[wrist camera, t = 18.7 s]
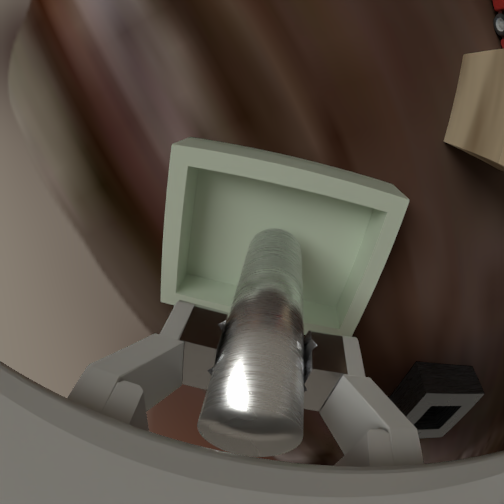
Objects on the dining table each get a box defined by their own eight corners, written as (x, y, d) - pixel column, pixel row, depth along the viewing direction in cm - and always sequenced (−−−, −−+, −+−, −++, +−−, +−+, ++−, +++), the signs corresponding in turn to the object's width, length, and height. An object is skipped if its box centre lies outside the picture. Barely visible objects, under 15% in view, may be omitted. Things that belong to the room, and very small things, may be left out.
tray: (392, 184, 14) (409, 200, 12) (343, 313, 18) (348, 342, 15) (190, 137, 14) (171, 144, 12) (175, 276, 18) (160, 301, 16)
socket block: (472, 366, 19) (484, 393, 16) (434, 410, 22) (441, 437, 19) (416, 361, 19) (426, 393, 16) (379, 409, 22) (384, 438, 19)
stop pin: (307, 235, 14) (318, 418, 6) (293, 280, 15) (286, 461, 7) (253, 222, 14) (201, 396, 6) (243, 269, 15) (194, 445, 7)
